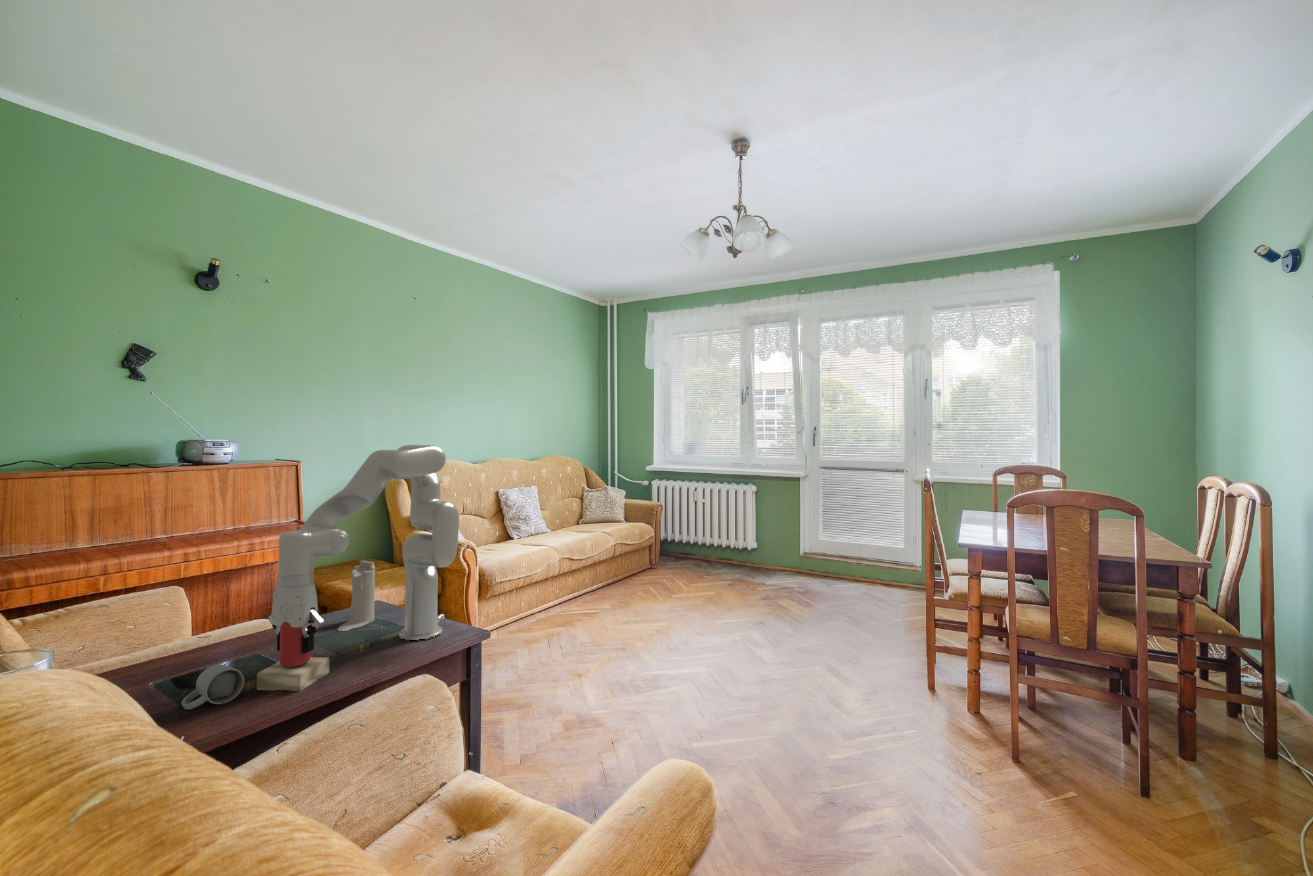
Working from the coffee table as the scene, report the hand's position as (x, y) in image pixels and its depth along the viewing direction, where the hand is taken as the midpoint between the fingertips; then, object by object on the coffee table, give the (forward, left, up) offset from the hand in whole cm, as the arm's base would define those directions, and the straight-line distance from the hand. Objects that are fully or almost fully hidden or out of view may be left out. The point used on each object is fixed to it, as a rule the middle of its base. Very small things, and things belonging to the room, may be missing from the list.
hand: (295, 649), depth 142 cm
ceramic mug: (+14, -9, -8) cm, 18 cm away
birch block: (0, 0, -8) cm, 8 cm away
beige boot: (-41, -18, -8) cm, 45 cm away
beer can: (0, 0, -4) cm, 4 cm away
